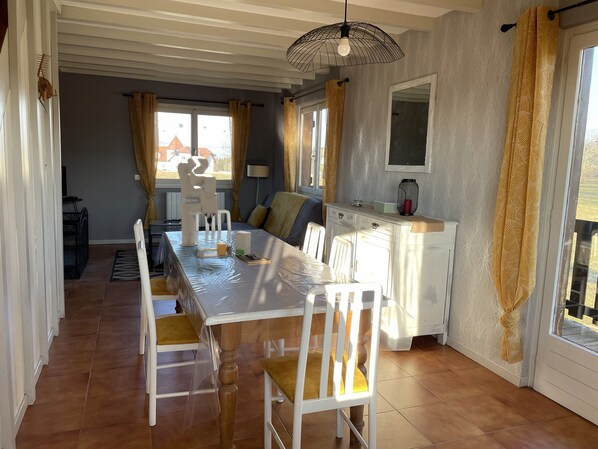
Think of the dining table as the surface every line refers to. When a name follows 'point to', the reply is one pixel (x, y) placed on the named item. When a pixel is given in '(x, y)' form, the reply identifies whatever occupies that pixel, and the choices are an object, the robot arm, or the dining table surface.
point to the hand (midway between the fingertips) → (209, 223)
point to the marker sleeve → (221, 248)
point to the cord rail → (202, 255)
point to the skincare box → (242, 243)
